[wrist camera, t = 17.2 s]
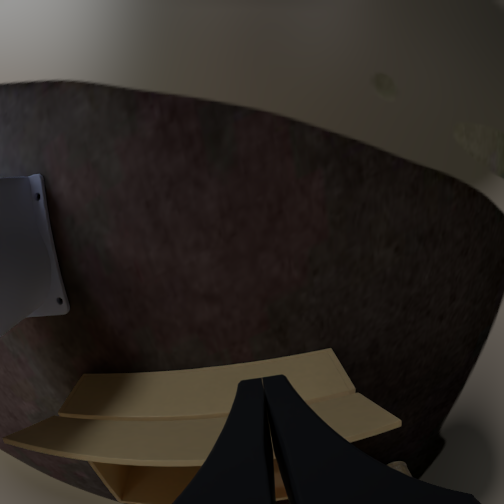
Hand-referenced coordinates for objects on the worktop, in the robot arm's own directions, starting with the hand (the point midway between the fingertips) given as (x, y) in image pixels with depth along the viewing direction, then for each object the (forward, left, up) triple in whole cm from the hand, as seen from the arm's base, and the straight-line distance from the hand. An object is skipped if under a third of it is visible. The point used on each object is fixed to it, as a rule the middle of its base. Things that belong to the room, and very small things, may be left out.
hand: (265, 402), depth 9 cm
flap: (+4, -4, -2) cm, 6 cm away
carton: (+11, -4, -10) cm, 15 cm away
